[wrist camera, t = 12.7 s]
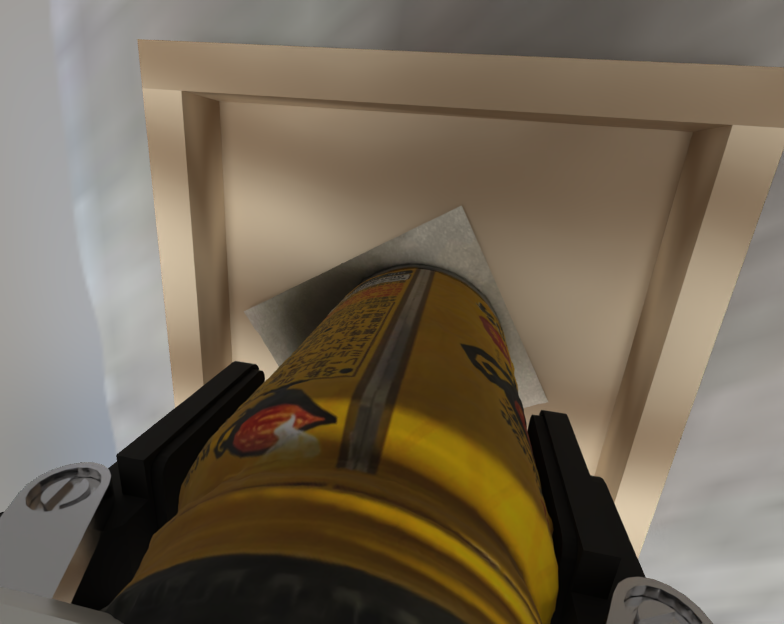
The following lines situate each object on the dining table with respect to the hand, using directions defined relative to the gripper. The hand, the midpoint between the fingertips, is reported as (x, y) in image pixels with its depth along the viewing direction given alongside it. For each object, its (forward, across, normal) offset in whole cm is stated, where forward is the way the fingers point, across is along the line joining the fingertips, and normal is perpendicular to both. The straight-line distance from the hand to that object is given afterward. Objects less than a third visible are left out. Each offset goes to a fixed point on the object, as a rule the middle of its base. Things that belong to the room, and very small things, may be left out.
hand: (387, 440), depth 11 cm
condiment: (+5, +1, 0) cm, 5 cm away
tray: (+6, 0, 0) cm, 6 cm away
